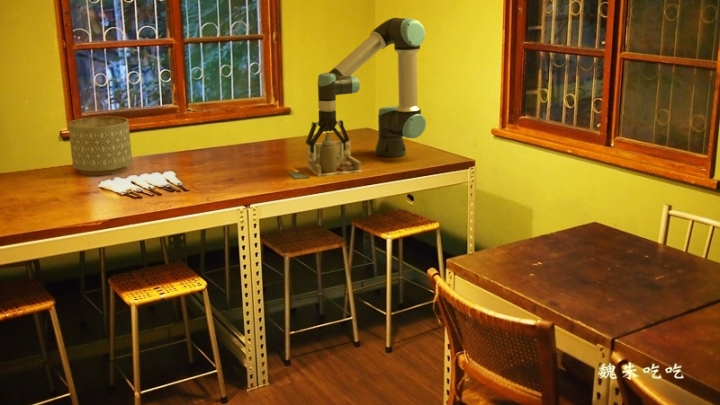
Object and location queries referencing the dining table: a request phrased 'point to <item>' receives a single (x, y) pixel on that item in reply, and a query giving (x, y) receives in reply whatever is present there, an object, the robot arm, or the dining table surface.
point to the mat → (298, 175)
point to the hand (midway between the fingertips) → (328, 158)
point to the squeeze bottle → (328, 155)
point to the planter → (100, 145)
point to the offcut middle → (346, 168)
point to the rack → (355, 163)
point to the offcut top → (345, 164)
